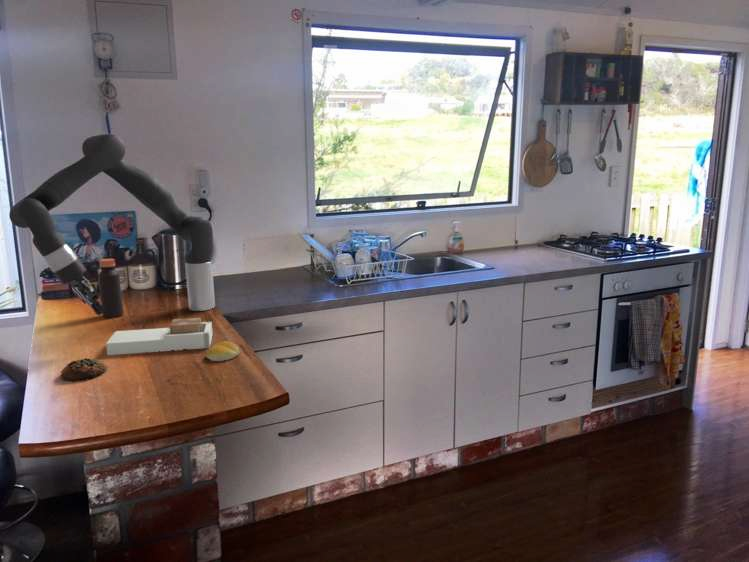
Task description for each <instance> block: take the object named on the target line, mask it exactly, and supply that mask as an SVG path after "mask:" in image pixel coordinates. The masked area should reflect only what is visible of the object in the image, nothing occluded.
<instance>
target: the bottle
mask: <svg viewBox="0 0 749 562" xmlns="http://www.w3.org/2000/svg"><path fill="white" fill-rule="evenodd" d="M98 263H99V268H100V271H99V273H98V275H97V277H98V278H97V279H98V286H99V287H98V288H99V294H100V296H99V298H100V304H101V306H102V307H103V308H104V310H105V312H104V313H102V314H101V315H102V317H103V318H104V317H106V318H105V319H113V318H112V317H116V318H119V316H120V317H122V316H123V315H124V304H123V296H122V295H123V294H122V287H121V285H122V284H121V280H120V279H121V277H120V273H119V271H117V270H116V269H115V267H116V261H115V259H114V258H101V259H99V261H98Z"/></svg>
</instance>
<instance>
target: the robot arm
mask: <svg viewBox="0 0 749 562" xmlns="http://www.w3.org/2000/svg"><path fill="white" fill-rule="evenodd" d="M81 152H82V153H83V157H82V158H80V159H79V160H76V161H75V162H73V163H72V164H70V165H69V166H66V167H64V168H63V169H61V170H59V171H57V172H55V173H54V174H53V175H52V176H50V177H49V178H48V179H47V180H45V181H44V182H42V183H41V184H40V185H39V186H38V187H37V188H36V189H35V190H34V191H32V192H30V194H28V195H27V196H25V197H23V198H22V199H21V200H19V201H18V202H16V203H15V204H14V205H13V206H12V207H11V208H10V209H9V213H8V214H9V220H10V222H11V224H13V225H14V226H16V227H18V228H20V229H21V228H22V229H28V228H29V230H30V232H31V234H32V236H33V237H32V244H33V245H34V247H35V248H36V250H37V251H38V252H39V253H40V255H41V256H42V257H43V259H44V261H45V263H46V264H47V266H48V267H49V269H50V270H51V271H52V273H53V274H54V276H55V277H56V278H57V279H58V280H59V282H60V284H62V285H67V284H70V286H71V289H72V290H71V292H72V294H74V295H75V296H76V298H79V300H80V301H82V303H84V304H85V305H86V304H87V305H88V306H90V307H91V309H92V310H93V312H94V313H95V314H96V315H97V316H101V315H103V314H102V313H104V312H105V310H104V308H103V307H102V306H101V302H100V301H99V299H100V296H99V293H98V290H97V287H96V285H95V284H94V283H91V282H90V281H89V279H87V278H86V277H85V276H84V274H85V273H86V272H87V268H86V267H85V265H84V264H83V262H81V260H80V259H79V257H78V256H77V254H76V253H75V252H74V250H73V249H72V248H71V247H70V246H69V245H68V244H67V242H66V241H65V239H64V238H63V236H62V235H61V234H60V233H59V231H58V230H57V227H56V225H55V222H54V220H53V219H52V216H51V213H50V211H51V210H53V209H54V208H57V207H58V206H59V205H61V204H62V203H63V202H65V201H66V200H67V199H68V198H69V197H71V196H72V195H73V194H74V193H76V191H78V190H79V189H80V188H81V187H83V186H84V185H85V184H86V183H88V182H89V181H90V180H91V179H93V178H95V177H96V176H97V175H100V174H101V173H104V174H105V175H106V176H108V177H109V178H111V179H112V180H113V181H115V182H117V183H118V185H120V186H121V187H122V188H123V189H124V190H126V191H127V192H128V193H130V194H131V195H132V196H133V197H134V198H135V199H137V201H138V202H140V204H142V205H143V206H145V208H147V209H148V210H149V211H151V212H152V213H153V214H155V216H157V217H158V218H160V219H161V220H162V221H163V222H164V223H166V225H168V226H169V227H170V229H172V230H173V231H174V233H175V234H176V235H177V236H178V237H179V238H180V239H181V240H183V241H185V242H187V243H190V244H191V245H190V251H189V252H188V253H187V252H186V253H185V255H184V265H185V277H186V289H187V300H188V301H187V302H188V309H189V310H190V311H193V312H202V311H208V310H213V309H214V307H215V308H216V300H215V299H216V298H215V288H214V287H215V286H214V274H213V272H214V271H213V263H212V262H213V261H212V259H213V258H212V255H213V254H214V253H213V252H214V234H213V233H214V232H213V231H214V230H213V226H212V224H211V221H210V220H209V219H207V218H206V217H202V216H192V215H190V214H188V213H186V212H185V211H184V210H183V209H181V208H180V207H179V206H178V204H177V203H175V199H174V197H173V195H172V193H171V191H170V190H169V189H168V187H166V185H164V184H163V183H162V182H161V181H160V180H159V179H158V178H156V177H155V176H154V175H152V174H150V173H148V172H146V171H145V170H142V169H140V168H139V167H136V166H134V165H131V164H130V163H129V162H127V161H125V160H124V157H125V154H126V145H125V143H124V141H123V140H122V139H121V137H119V136H118V135H115V134H112V133H107V134H106V133H102V134H97V135H92V136H89V137H87V138H86V139H85V140H84V141H83V142H82V146H81ZM212 308H213V309H212Z"/></svg>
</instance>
